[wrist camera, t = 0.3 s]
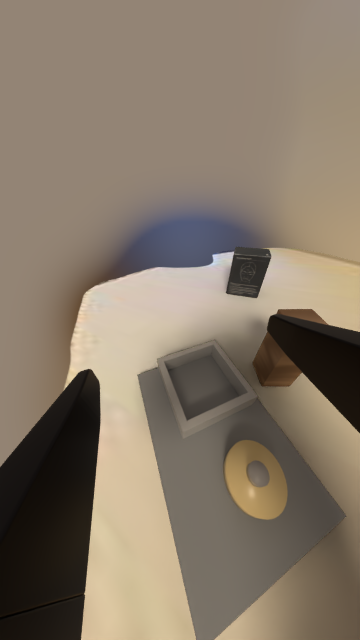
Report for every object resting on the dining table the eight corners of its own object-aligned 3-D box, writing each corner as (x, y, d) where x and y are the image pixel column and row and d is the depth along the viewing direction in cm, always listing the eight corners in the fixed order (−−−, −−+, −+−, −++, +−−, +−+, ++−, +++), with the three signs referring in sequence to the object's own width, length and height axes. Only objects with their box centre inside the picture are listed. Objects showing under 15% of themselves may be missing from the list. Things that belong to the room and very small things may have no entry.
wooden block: (289, 386, 23) (337, 333, 16) (261, 386, 23) (297, 333, 16) (276, 362, 26) (312, 309, 19) (252, 362, 26) (278, 309, 19)
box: (256, 288, 45) (269, 248, 38) (257, 298, 41) (272, 256, 34) (227, 284, 47) (235, 245, 40) (225, 294, 43) (234, 253, 36)
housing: (338, 515, 14) (374, 517, 12) (198, 643, 10) (203, 690, 8) (217, 350, 28) (221, 334, 26) (138, 378, 24) (133, 363, 22)
